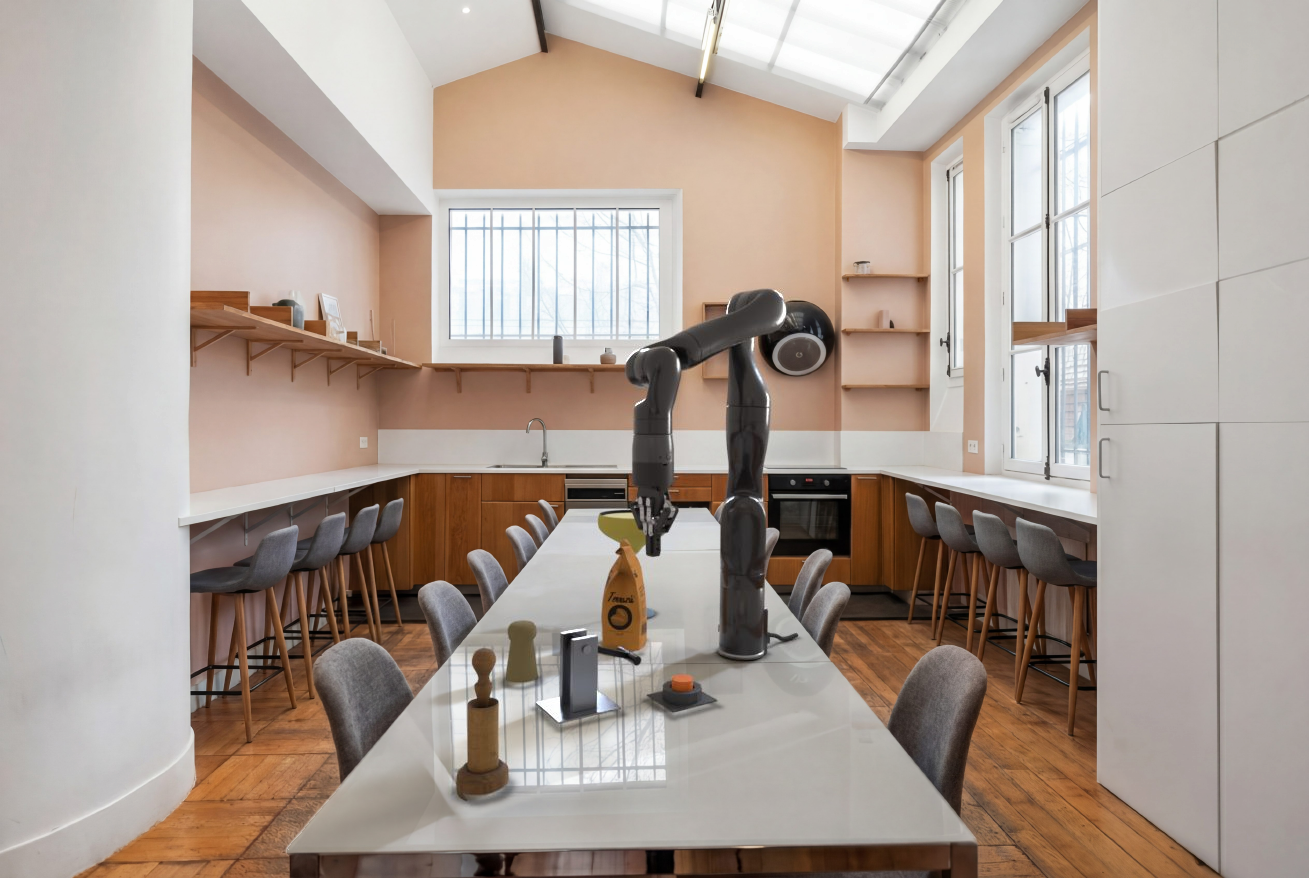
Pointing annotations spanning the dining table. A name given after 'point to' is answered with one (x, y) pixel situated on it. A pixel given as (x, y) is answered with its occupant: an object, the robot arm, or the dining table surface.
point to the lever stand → (578, 680)
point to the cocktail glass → (623, 531)
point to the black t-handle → (614, 652)
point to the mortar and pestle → (482, 735)
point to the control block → (681, 697)
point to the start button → (682, 682)
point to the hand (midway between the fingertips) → (653, 555)
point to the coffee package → (624, 603)
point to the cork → (521, 652)
